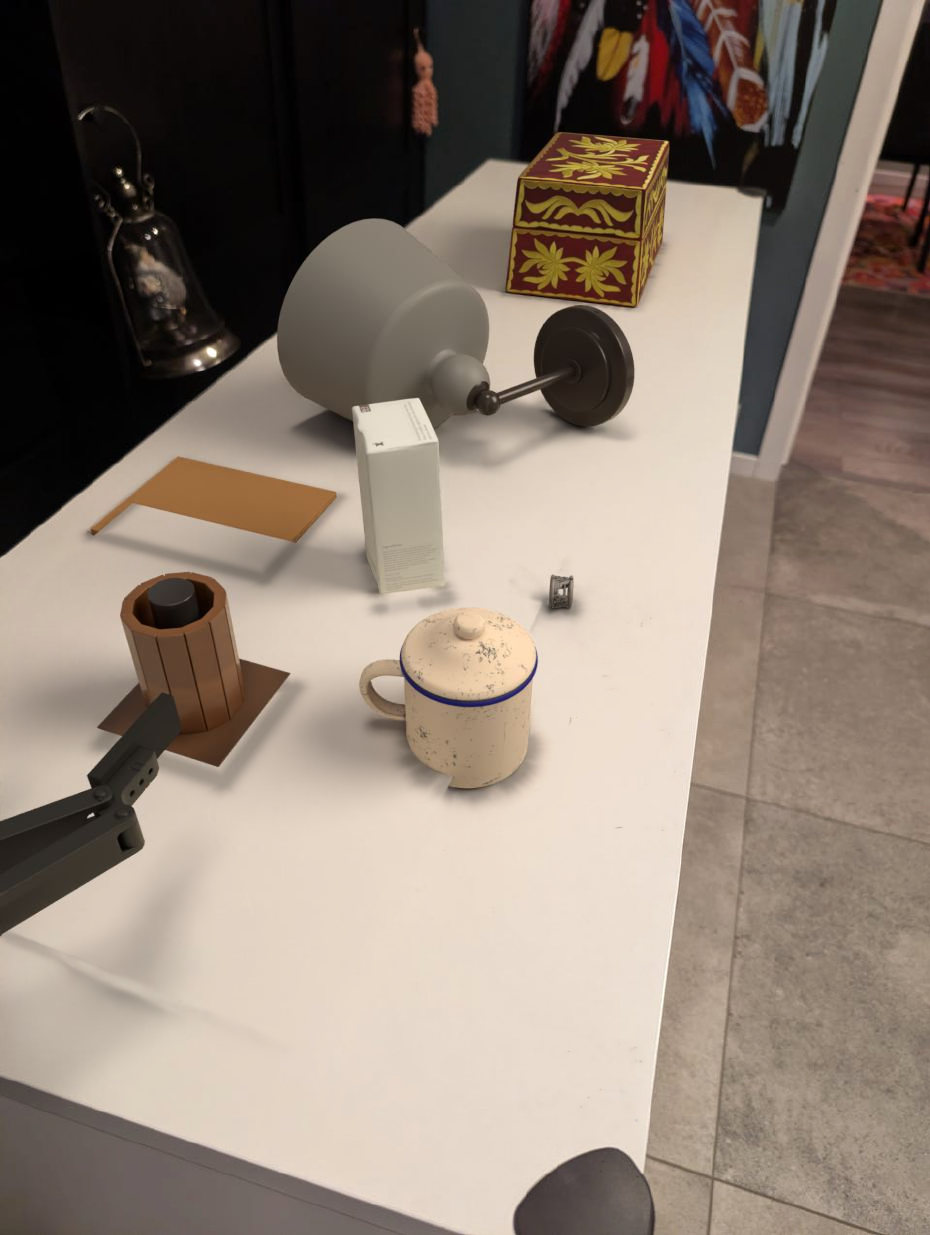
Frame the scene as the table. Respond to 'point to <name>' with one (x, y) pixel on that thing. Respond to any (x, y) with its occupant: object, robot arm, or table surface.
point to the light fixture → (430, 336)
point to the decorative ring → (563, 583)
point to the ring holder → (180, 608)
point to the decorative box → (589, 219)
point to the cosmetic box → (400, 494)
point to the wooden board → (230, 499)
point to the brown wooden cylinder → (187, 655)
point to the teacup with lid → (463, 693)
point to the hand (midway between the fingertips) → (73, 680)
